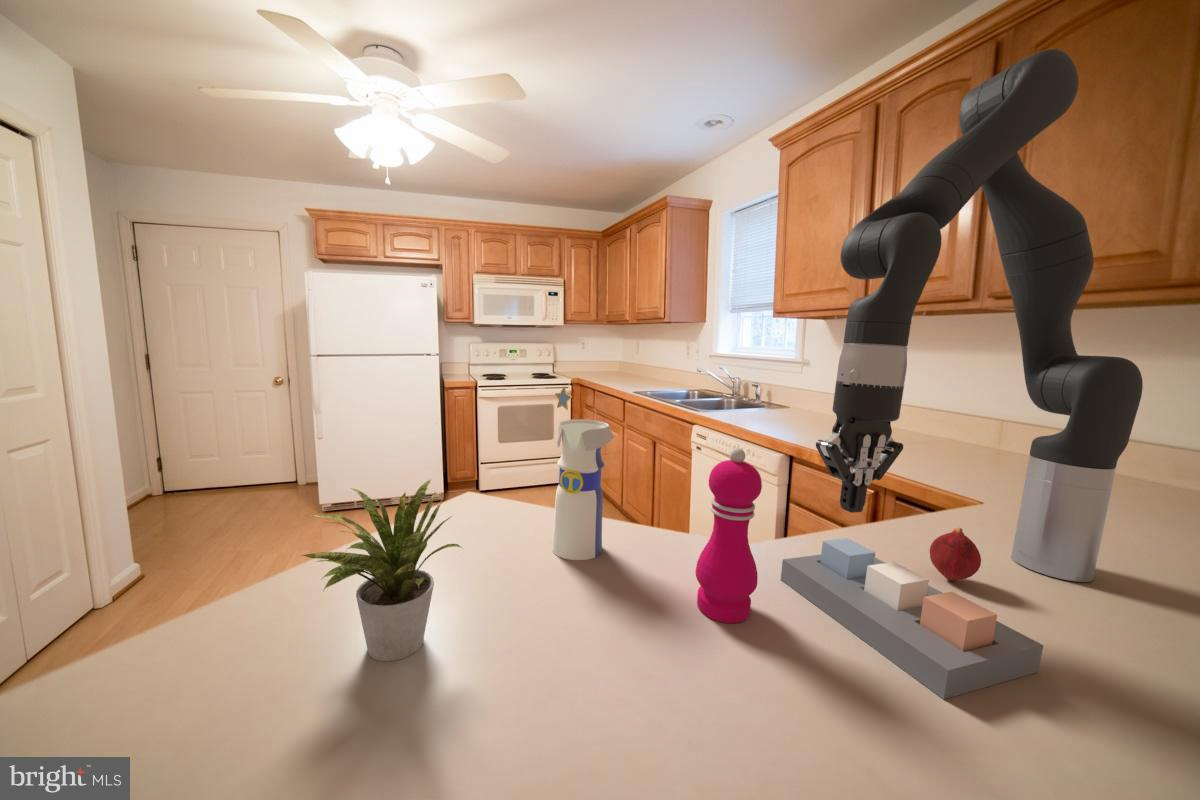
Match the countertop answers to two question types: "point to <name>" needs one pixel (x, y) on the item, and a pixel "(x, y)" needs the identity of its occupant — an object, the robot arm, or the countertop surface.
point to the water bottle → (579, 487)
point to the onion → (955, 555)
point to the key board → (912, 633)
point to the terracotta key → (958, 621)
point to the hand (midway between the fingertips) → (850, 510)
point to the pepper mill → (729, 542)
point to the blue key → (846, 558)
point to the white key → (896, 585)
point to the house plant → (389, 576)
